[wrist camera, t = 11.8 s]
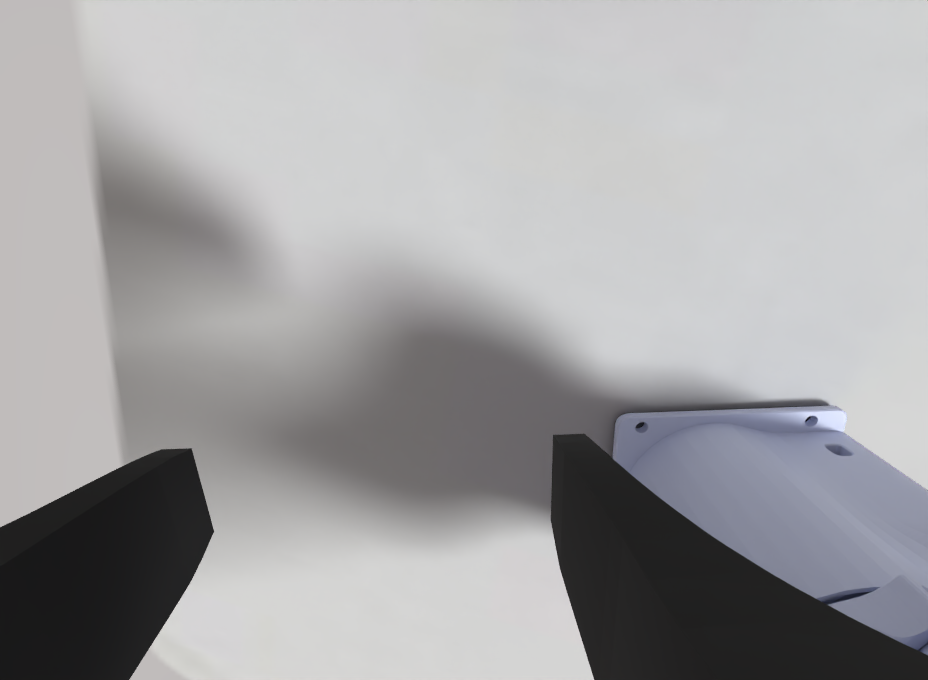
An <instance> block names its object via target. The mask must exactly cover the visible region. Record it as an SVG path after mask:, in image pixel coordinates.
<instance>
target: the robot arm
mask: <svg viewBox="0 0 928 680" xmlns="http://www.w3.org/2000/svg"><path fill="white" fill-rule="evenodd" d="M809 416H811V418H810V419H809V420H808V421H806V422H805V420H806V419H807V418H808V417H809ZM846 421H847V414H846V412H845V411H843V410H842V409H840V408H838V407H837V406H810V407H784V408H757V409H730V410H703V411H677V412H650V413H627V414H623V415H621V416H620V417H619V418H618V419H617V420H616V423H615V433H614V446H613V458H611V457H610V456H609V455H608V454H607V453H606V452H605V451H603V450H602V449H601V448H600V447H599V446H598V445H597V444H596V443H594V442H593V441H592V440H591V439H590V438H589V437H587V436H586V435H585V434H569V435H553V462H552V499H551V523H552V528H553V534H554V539H555V545H556V550H557V555H558V560H559V565H560V570H561V573H562V576H563V580H564V583H565V586H566V590H567V593H568V596H569V599H570V603H571V606H572V609H573V612H574V616H575V619H576V622H577V625H578V629H579V632H580V635H581V638H582V641H583V645H584V648H585V651H586V654H587V657H588V661H589V664H590V667H591V670H592V674H593V677H594V680H928V490H927V489H925V488H924V487H922V486H921V485H919V484H918V483H916V482H915V481H913V480H912V479H911V478H909V477H908V476H906V475H905V474H903V473H902V472H900V471H899V470H897V469H896V468H895V467H893V466H892V465H890V464H889V463H887V462H886V461H884V460H883V459H881V458H880V457H879V456H877V455H876V454H874V453H873V452H871V451H870V450H868V449H867V448H865V447H864V446H863V445H861V444H860V443H858V442H857V441H855V440H854V439H852V438H851V437H850V436H848V435H847V434H845V433H844V428H845V425H846ZM640 422H645V423H644V426H642V427H641V428H635V427H636V425H637V424H638V423H640ZM213 533H214V530H213V526H212V522H211V519H210V515H209V511H208V507H207V504H206V500H205V496H204V493H203V489H202V485H201V482H200V478H199V474H198V471H197V467H196V463H195V459H194V456H193V452H192V448H191V449H164V450H159V451H156V452H154V453H151V454H149V455H146V456H144V457H142V458H139V459H137V460H135V461H133V462H131V463H129V464H127V465H124V466H122V467H120V468H118V469H116V470H114V471H112V472H110V473H108V474H106V475H104V476H102V477H100V478H98V479H96V480H94V481H92V482H90V483H88V484H86V485H84V486H83V487H80V488H79V489H76V490H75V491H73V492H71V493H69V494H67V495H65V496H63V497H61V498H59V499H57V500H55V501H53V502H51V503H49V504H47V505H45V506H43V507H41V508H39V509H37V510H35V511H33V512H31V513H30V514H27V515H25V516H23V517H21V518H19V519H17V520H15V521H13V522H11V523H9V524H6V525H4V526H2V527H0V680H129V679H130V677H131V676H132V674H133V673H134V671H135V670H136V668H137V667H138V665H139V663H140V662H141V660H142V659H143V657H144V656H145V654H146V652H147V651H148V649H149V648H150V646H151V645H152V643H153V641H154V640H155V638H156V637H157V635H158V634H159V632H160V630H161V629H162V627H163V626H164V624H165V623H166V621H167V619H168V618H169V616H170V615H171V613H172V611H173V610H174V608H175V606H176V605H177V603H178V602H179V600H180V598H181V597H182V595H183V594H184V592H185V590H186V589H187V587H188V585H189V584H190V582H191V580H192V578H193V576H194V574H195V572H196V570H197V568H198V566H199V564H200V562H201V560H202V558H203V555H204V553H205V551H206V549H207V546H208V544H209V542H210V539H211V537H212V535H213Z"/></svg>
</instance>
